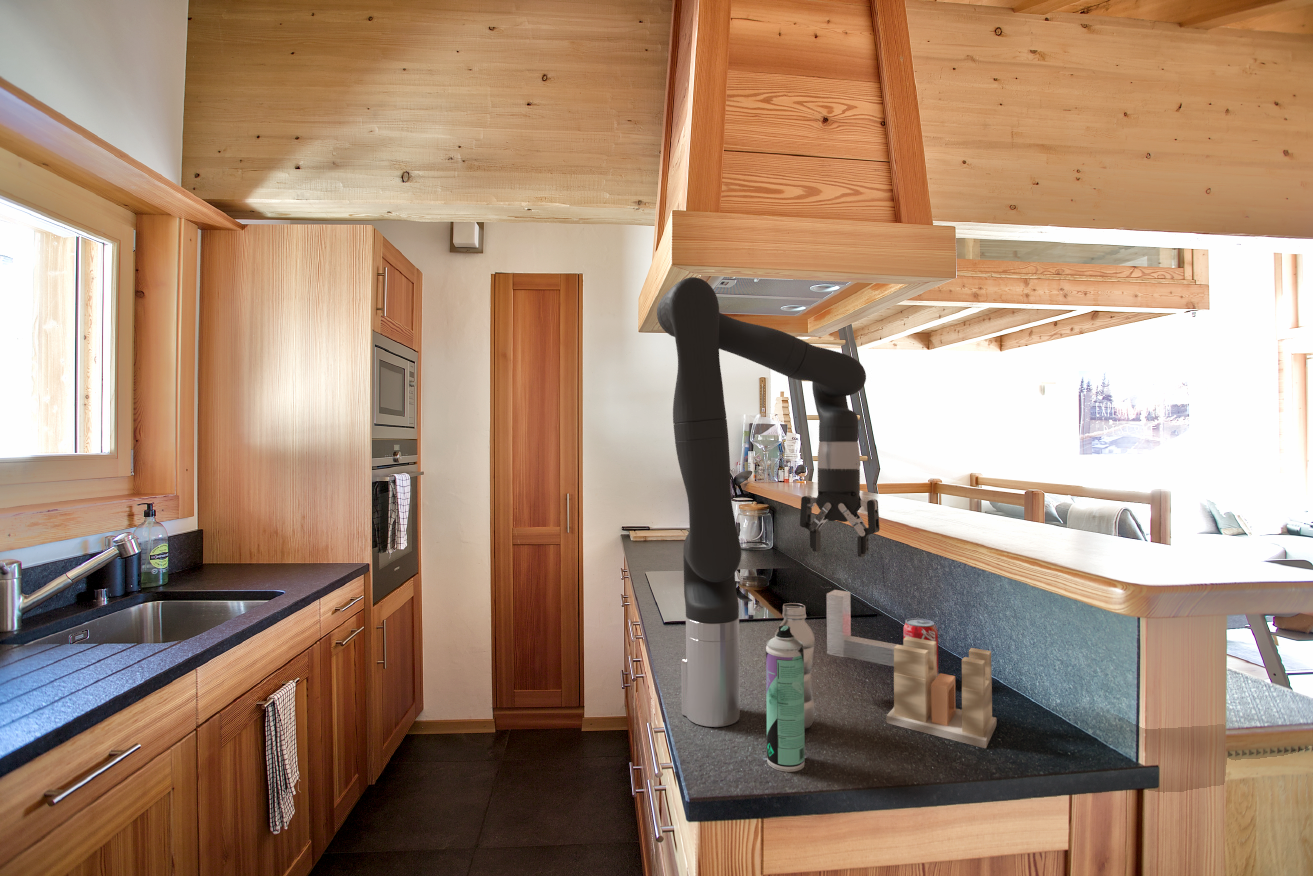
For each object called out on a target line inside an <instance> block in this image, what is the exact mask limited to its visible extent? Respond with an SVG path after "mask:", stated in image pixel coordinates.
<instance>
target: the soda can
mask: <svg viewBox="0 0 1313 876" xmlns="http://www.w3.org/2000/svg"><path fill="white" fill-rule="evenodd" d="M902 630H903V631H902V632H903V639H904V638H905V637H912V638H918V639H924V640H930V641H935V642H936V652H937V676H938V675H939V631H938V628H937V625H936V624H935V622H934V621H932V620H930V619H925V618H919V617H918V618H915V617H914V618H913V617H912V618H908V619H905V623H904V626H903V629H902Z"/></svg>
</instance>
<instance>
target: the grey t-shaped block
mask: <svg viewBox="0 0 1313 876" xmlns="http://www.w3.org/2000/svg"><path fill="white" fill-rule="evenodd" d="M851 611H852V610H851V591H845V590H839V589H833V590H831V591H830V592H827V593H826V654H827V655H830V656H836V657H840V658H844V657H845V658H849V659H850V658H851V659H855V660H859V661H865V662H869V663H873V664H879V665H883V666H884V665H885V666H889V667H893V668H894V647H895V646H896V645H899V644H897V643H890V642H887V641H886V642H885V641H881V640H876V639H875V640H874V639H869V638H864V637H858V636H854V635H853V636H852V635H851V634H852V633H851V632H852V631H851V627H852V626H851V622H852V621H851V620H852V619H851V614H852V613H851ZM901 645H902V646H903V644H901ZM907 647H909V646H907ZM913 648H914V647H913ZM918 649H920V648H918Z"/></svg>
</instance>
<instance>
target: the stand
mask: <svg viewBox="0 0 1313 876" xmlns="http://www.w3.org/2000/svg"><path fill="white" fill-rule="evenodd" d="M902 639H903V643H902V644H898V645H896V646H895V647H894V667H893V707H892V709H891V710H890V711H889V712H888V713H887V714H886V717H885V718H886V720H885V721H886V724H888V725H889V724H890V725H893V726H898V727H902V728H905V729H909V730H913V731H917V732H920V733H925V734H927V735H928V734H929V735H933V736H936V737H940V738H943V739H947V740H951V741H954V742H955V741H956V742H959V743H964V744H967V745H971V746H974V747H978V748H982V749H987V747H988V745H989V743H990V741H991V738H992V736H993V734H994V732H995V730H996V727H997V725H998V724H997V721H998V720H997V717H995V716H993V689H992V687H993V685H992V684H993V681H992V680H993V678H992V677H993V676H992V650H986V649H980V648H974V647H970V649H969V650H968V657H967V656H965V657H963V658H962V659H961V709H960V708H956V713H955V715H954V716H953V718H952V719H951V721H950V723H949V724H948V726H945V725H941V724H937V723H933V722H932V710H931V684H932V683H933V681H934V680H935V679H936V678H937V652H936V642H935V641H930V640H924V639H918V638H912V637H905V638H904V637H903V638H902ZM902 645H903V646H902ZM907 646H909V647H907ZM913 647H914V648H913ZM918 648H920V649H918Z"/></svg>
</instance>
